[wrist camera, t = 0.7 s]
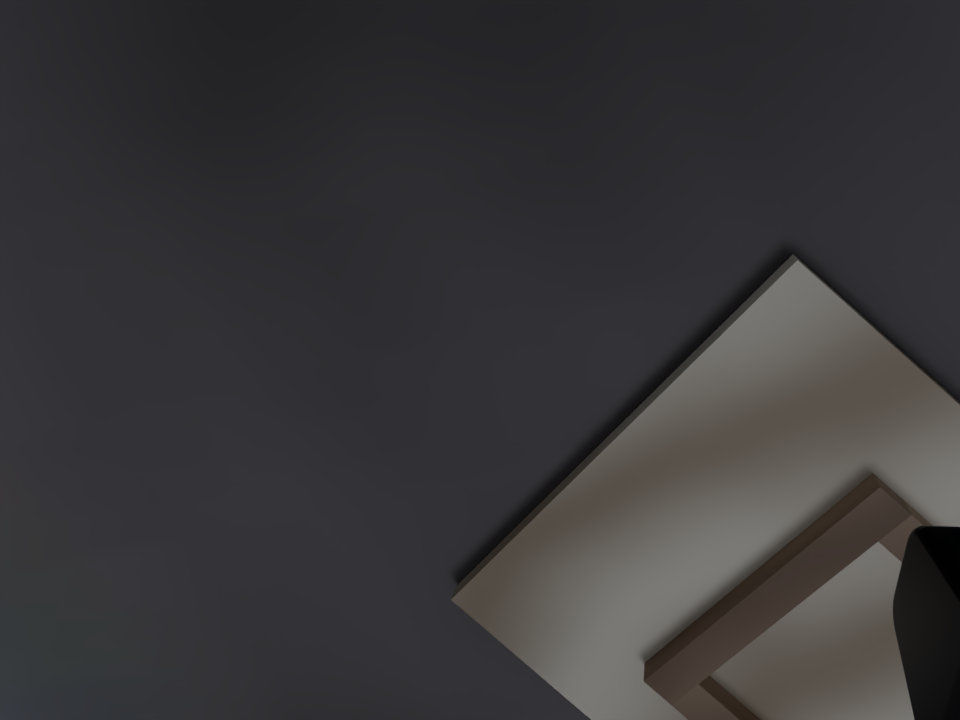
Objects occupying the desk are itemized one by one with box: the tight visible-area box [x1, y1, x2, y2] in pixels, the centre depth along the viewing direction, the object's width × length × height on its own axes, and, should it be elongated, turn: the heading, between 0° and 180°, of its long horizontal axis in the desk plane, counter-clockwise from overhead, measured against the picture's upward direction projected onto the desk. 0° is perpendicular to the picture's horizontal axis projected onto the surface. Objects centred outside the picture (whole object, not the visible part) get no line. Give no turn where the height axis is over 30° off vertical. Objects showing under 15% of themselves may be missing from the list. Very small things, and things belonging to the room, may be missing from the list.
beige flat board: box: [451, 254, 960, 720], centre depth 23 cm, size 18×13×2 cm
